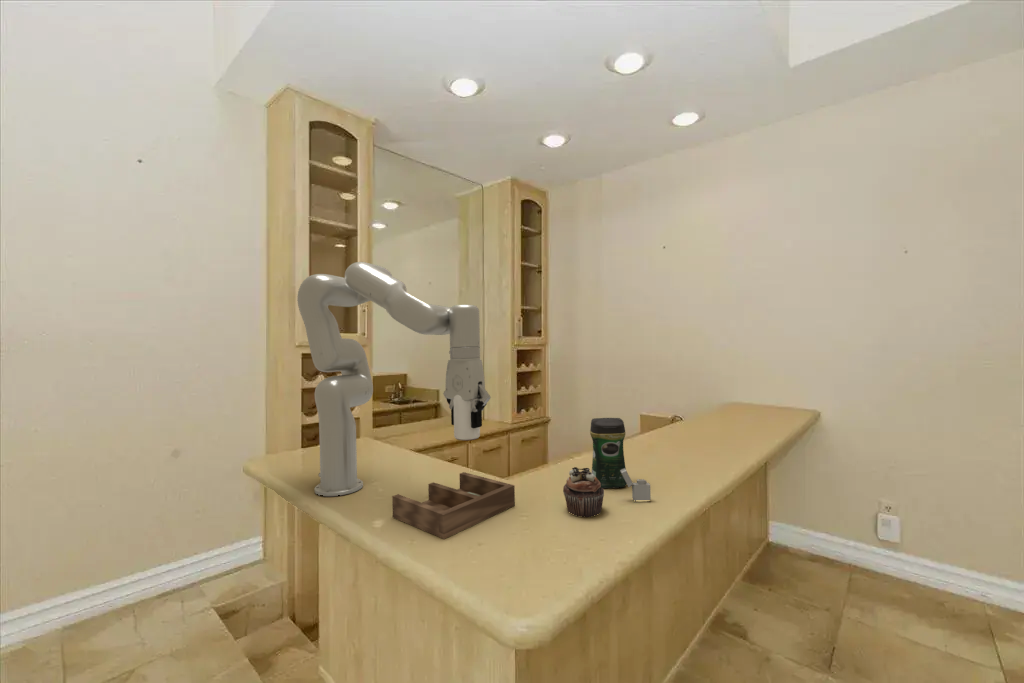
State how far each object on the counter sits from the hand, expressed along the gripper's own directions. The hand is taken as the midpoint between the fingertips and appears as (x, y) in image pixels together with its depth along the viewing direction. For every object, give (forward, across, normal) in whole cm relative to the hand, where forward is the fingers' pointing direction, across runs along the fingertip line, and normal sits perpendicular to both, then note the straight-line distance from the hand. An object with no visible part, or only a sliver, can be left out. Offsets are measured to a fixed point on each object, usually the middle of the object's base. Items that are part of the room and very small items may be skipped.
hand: (466, 425), depth 109 cm
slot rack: (+20, +1, -6) cm, 20 cm away
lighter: (+20, +33, +26) cm, 46 cm away
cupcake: (+20, +26, +13) cm, 35 cm away
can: (+3, 0, 0) cm, 3 cm away
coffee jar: (+20, +22, +33) cm, 44 cm away
